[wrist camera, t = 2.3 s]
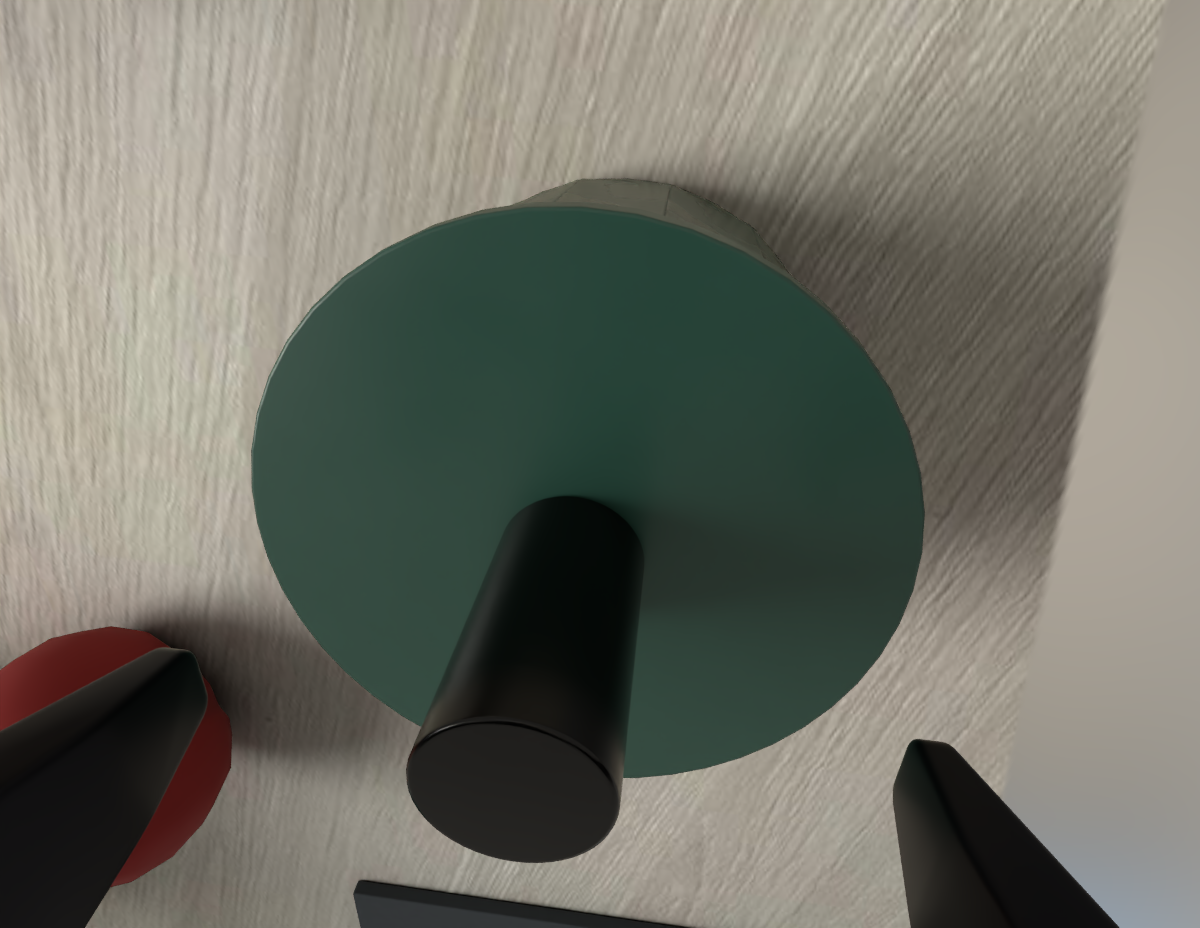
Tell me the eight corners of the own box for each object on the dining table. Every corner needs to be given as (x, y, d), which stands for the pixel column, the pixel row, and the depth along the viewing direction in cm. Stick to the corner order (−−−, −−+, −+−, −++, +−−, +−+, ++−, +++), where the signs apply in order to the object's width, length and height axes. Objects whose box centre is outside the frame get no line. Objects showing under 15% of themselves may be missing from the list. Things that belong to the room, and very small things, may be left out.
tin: (855, 192, 15) (962, 264, 9) (780, 561, 20) (818, 770, 14) (411, 165, 16) (240, 216, 10) (440, 526, 21) (337, 710, 15)
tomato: (53, 707, 27) (-139, 895, 21) (57, 558, 23) (-177, 733, 17) (251, 780, 28) (122, 982, 22) (286, 647, 24) (142, 846, 18)
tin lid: (996, 219, 10) (1315, 365, 5) (832, 764, 15) (901, 1101, 10) (223, 171, 10) (-195, 253, 6) (330, 702, 16) (166, 982, 11)
